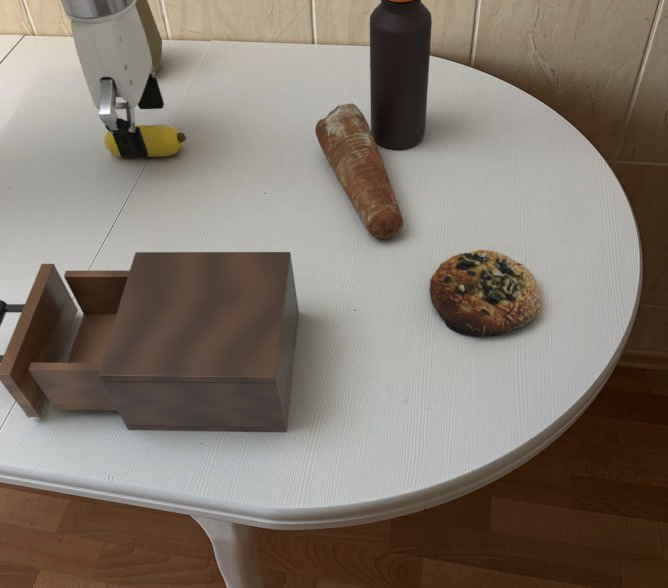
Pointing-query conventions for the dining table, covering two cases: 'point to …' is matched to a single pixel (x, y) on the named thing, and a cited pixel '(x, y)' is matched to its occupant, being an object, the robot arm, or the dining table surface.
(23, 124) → the dining table surface
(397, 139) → the vinegar
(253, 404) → the cabinet
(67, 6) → the robot arm
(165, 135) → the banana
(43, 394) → the drawer
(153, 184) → the dining table surface
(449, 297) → the bread roll
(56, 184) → the dining table surface
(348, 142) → the bread
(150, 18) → the squeeze bottle
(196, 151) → the dining table surface
